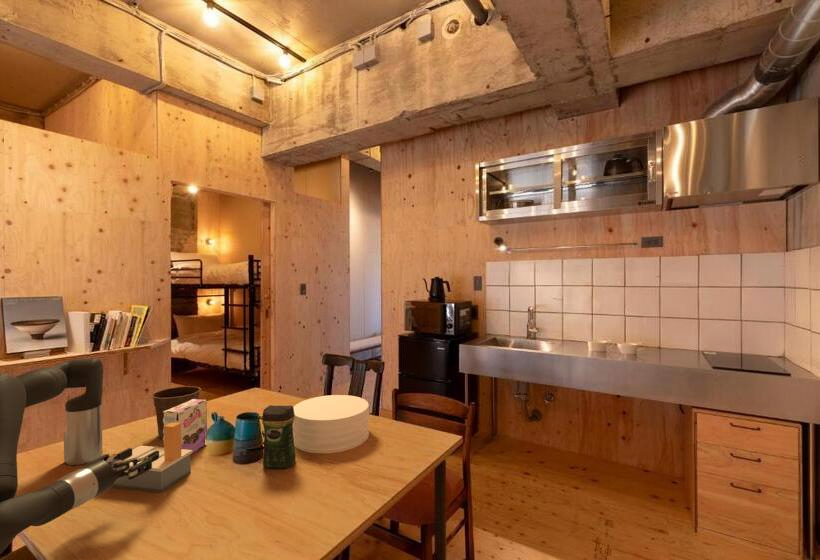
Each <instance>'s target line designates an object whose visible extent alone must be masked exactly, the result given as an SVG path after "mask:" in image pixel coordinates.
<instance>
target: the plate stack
mask: <svg viewBox="0 0 820 560" xmlns="http://www.w3.org/2000/svg"><path fill="white" fill-rule="evenodd" d="M369 406H370V405H369V402H368V401H367V400H366V399H364V398H362V397H361V396H360V397H359V396H355V395H347V394H331V395H322V396H316V397H311V398H308V399H305V400H302V401H300V402H298V403H297V404H295V405H294V406H293V408H294V414H295V418H294V421H293V438H294V446H295V449H298V450H299V449H300V451H302V452H306V453H310V454H311V453H312V454H334V453H340V452H345V451H349V450H352V449H355V448H357V447H359V446H360V445H362V444H364V443H365V442H366V441H368V438H369V437H370V430H369V429H370V423H369V422H370V419H369V416H370V415H369V414H370V413H369V409H370V408H369Z"/></svg>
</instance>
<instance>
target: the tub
mask: <svg viewBox="0 0 820 560" xmlns="http://www.w3.org/2000/svg"><path fill="white" fill-rule="evenodd" d="M191 460H192V458H191V454H189V455H188V456H186V457H184V458H183V459H181V460H180V461H178V462H176V463H175V464H173V465H171V466H170V467H168V468H166V469H165V470H163V471H161V472H159V471H149V470H148V471H147V472H145V473H143V474H141V475H139V476H137V477H136V478H134V479H131V480H129V479H128V476H124V477H122V478H119V479H116V481H115V482H114V484H113V485H112V487H111V488H116V489H124V490H125V489H126V490H135V491H144V492H151V493H153V492H154V493H163V492H164V491H166V490H168V489H169V488H170V487H172V486H174V485H175V484H176V483H178V482H179V481H181V480H183V479H184V478H186V477H187V476H189V475H190V474H191V469H192V465H191Z"/></svg>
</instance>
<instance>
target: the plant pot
mask: <svg viewBox="0 0 820 560" xmlns="http://www.w3.org/2000/svg"><path fill="white" fill-rule="evenodd" d="M201 390H202V388H201V387H200V386H199V387H198V386H191V385H187V386H185V385H184V386H177V387H175V386H174V387H169V388H164V389H160V390H158V391H155V392H154V393H152V394H151V397H152V399H153V405H154V408H155V414H156V423H157V433H158V434H157V436H158V437H159V438H160V439H162V440H163V411H166V410H168V409H171V408H173V407H176V406H178V405H181V404H183V403H185V402H188V401H190V400H192V399H200V392H201Z"/></svg>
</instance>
